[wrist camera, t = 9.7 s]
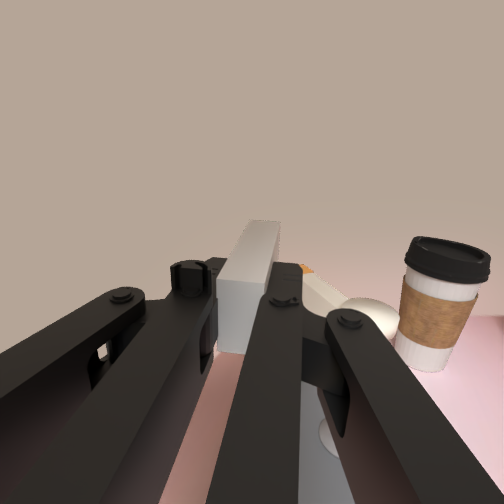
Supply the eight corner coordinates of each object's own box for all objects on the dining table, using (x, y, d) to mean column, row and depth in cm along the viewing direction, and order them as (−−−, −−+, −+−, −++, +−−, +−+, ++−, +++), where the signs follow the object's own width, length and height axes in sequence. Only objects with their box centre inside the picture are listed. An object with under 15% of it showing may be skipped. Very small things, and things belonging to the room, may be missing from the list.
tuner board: (360, 377, 38) (362, 366, 37) (401, 565, 22) (406, 552, 21) (256, 362, 39) (257, 352, 39) (222, 528, 23) (222, 514, 22)
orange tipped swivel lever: (379, 446, 28) (412, 320, 23) (340, 463, 26) (367, 331, 22) (300, 352, 39) (312, 254, 34) (269, 360, 37) (277, 258, 33)
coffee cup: (377, 332, 46) (400, 230, 41) (442, 341, 45) (474, 237, 40) (391, 374, 38) (421, 254, 33) (469, 385, 37) (514, 264, 32)
